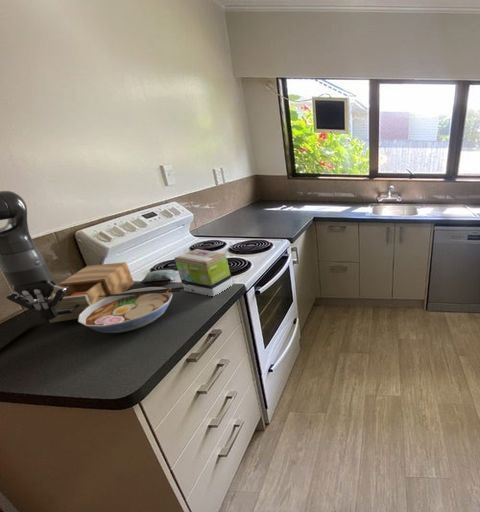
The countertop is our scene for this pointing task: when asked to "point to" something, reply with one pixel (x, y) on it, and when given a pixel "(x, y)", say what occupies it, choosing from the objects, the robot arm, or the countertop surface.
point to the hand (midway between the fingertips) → (51, 318)
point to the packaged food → (159, 277)
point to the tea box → (204, 272)
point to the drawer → (79, 300)
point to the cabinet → (104, 277)
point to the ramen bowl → (127, 309)
